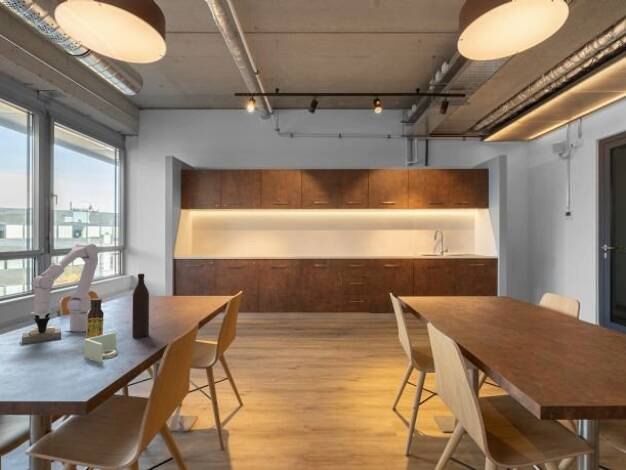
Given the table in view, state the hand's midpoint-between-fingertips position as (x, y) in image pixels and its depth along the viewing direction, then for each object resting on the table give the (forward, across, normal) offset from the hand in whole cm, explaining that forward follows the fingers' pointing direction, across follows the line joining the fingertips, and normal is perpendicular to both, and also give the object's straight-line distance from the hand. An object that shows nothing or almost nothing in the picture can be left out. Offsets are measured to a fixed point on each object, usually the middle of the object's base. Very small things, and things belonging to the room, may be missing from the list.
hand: (42, 331), depth 158 cm
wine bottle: (+4, +22, +37) cm, 43 cm away
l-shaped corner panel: (+4, +43, +21) cm, 48 cm away
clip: (+3, 0, 0) cm, 3 cm away
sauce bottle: (+4, +22, +18) cm, 29 cm away
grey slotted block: (+4, 0, 0) cm, 4 cm away
